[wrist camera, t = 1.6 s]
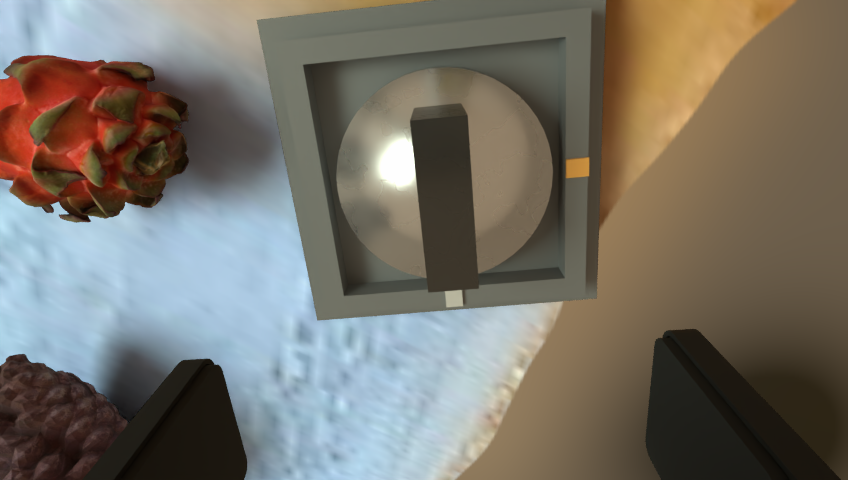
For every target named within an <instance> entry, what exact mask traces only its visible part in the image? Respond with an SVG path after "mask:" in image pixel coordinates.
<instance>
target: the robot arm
mask: <svg viewBox="0 0 848 480" xmlns="http://www.w3.org/2000/svg"><path fill="white" fill-rule="evenodd" d="M646 448H647V451H648V455H649V457H650V459H651V461H652V463H653V464H654V467H655V468H656V471H657V472H658V474H659V476H660V478H661V480H841V479H840V478H839V477H838V476H837V475H836V474H835V473H834V472H833V471H832V470H831V469H830V468H829V467H828V466H827V465H826V463H825V462H824V461H823V460H822V459H821V458H820V457H819V456H818V455H817V454H816V453H815V452H814V451H813V450H812V449H811V448H810V447H809V446H808V445H807V444H806V443H805V441H804V440H802V438H801V437H800V436H799V435H798V434H797V433H796V432H795V431H794V430H793V429H792V428H791V427H790V426H789V425H788V424H787V423H786V422H785V421H784V420H783V419H782V417H781V416H780V415H779V414H778V413H777V412H776V411H775V410H774V409H773V408H772V407H771V406H770V405H769V404H768V403H767V402H766V401H765V400H764V399H763V398H762V397H761V396H760V395H759V394H758V393H757V392H756V391H755V390H754V388H753V387H752V386H751V385H750V384H749V383H748V382H747V381H746V380H745V379H744V378H743V377H742V376H741V375H740V374H739V373H738V372H737V371H736V370H735V369H734V367H733V366H731V364H730V363H729V362H728V361H727V360H726V359H725V358H724V357H723V356H722V355H721V354H720V353H719V352H718V351H717V350H716V349H715V348H714V347H713V345H712V344H711V343H710V342H709V341H708V340H707V339H706V338H705V337H704V336H703V335H702V334H701V333H700V332H699V331H698V330H696V329H685V330H668V331H666V332H665V333H664V335H663V338H658V339H656V341H655V346H654V356H653V367H652V377H651V387H650V399H649V408H648V418H647V429H646ZM246 471H247V459H246V455H245V451H244V447H243V444H242V440H241V436H240V433H239V429H238V426H237V422H236V418H235V415H234V411H233V407H232V404H231V400H230V397H229V393H228V389H227V386H226V382H225V378H224V375H223V371H222V369H221V367H220V366H219V365H214V363H213V361H212V360H210V359H195V360H183V361H181V362H180V363H179V364H178V365H177V366H176V367H175V368H174V370H173V371H172V372H171V373H170V374H169V376H168V377H167V378H166V379H165V380H164V382H163V383H162V384H161V385H160V386H159V388H158V389H157V390H156V391H155V392H154V394H153V395H152V396H151V397H150V398H149V400H148V401H147V402H146V403H145V405H144V406H143V407H142V408H141V409H140V411H139V412H138V413H137V414H136V415H135V417H134V418H133V419H132V420H131V421H130V423H129V424H128V425H127V426H126V427H125V429H124V430H123V431H122V432H121V433H120V435H119V436H118V437H117V438H116V439H115V441H114V442H113V443H112V444H111V446H110V447H109V448H108V449H107V450H106V452H105V453H104V454H103V455H102V456H101V458H100V459H99V460H98V461H97V462H96V464H95V465H94V466H93V467H92V468H91V470H90V471H89V472H88V473H87V474H86V476H85V477H84V478H83V479H82V480H244V478H245V475H246Z"/></svg>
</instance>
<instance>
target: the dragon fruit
mask: <svg viewBox="0 0 848 480" xmlns="http://www.w3.org/2000/svg"><path fill="white" fill-rule="evenodd" d="M4 73H5V74H7V75H8V76H10V77H9V78H8V79H0V179H5V180H12V181H13V185H12V186H11V188H10V189H9V191H10V192H11V193H12V194H14V195H15V196H16V197H18V198H19V199H20V200H21V201H22V202H24V203H25V204H26V205H30V206H34V207H42V208H43V209H44V211H45V212H46V213H53V212H54V209H53V207H52V206H51V205H50V204H53V203H56V202H59V203H60V205H61V207H62V208H63V209H64V210H65V211H67V212H68V213H69V214H68V215H59V216H60V218H61V219H64V220H67V221H72V222H91V221H90V219H89V217H88V215H89V216H96V217H100V218H109V217H114V216H117V215H119V213H120V211H121V210H123V208H124V206H125V202H127V203H130V204H134V205H140V206H142V207H146V208H151V207H153V206H154V205H156V204H157V203H158V202H159V201H160V200H161V198H162V197H163V194H162V193H161V192H162V190H163V189H164V187H165V185H166V181H165V179H168V178H170V177H172V176H174V175H176V174H180V173H182V172H183V171H184V170H185V168H186V166H187V165H188V163H189V159H188V157H187V155H186V153H185V152H186V151H187V142H186V139H185V137H184V135H183V134H182V133H181V132H179V131H177V130H173V129H174V128H175V127H176V126H178V127H179V128H180V129H181V127H180V126H181V122H183V121H188V116H189V114H188V110H187V103H185V102H183V101H181V100H179V99H178V98H176V97H174V96H172V95H170V94H167V93H165V92H160V91H158V92H150V91H149V90H148V88H147V81H149V82H152V81H155V76H154V72H153V69H152V68H151V67H149V66H147V65H143V64H142V63H140V62H118V61H113V62H109V63H106V62H105V61H104V60H99V61H94V62H86V61H77V60H72V59H67V58H61V57H56V56H49V55H37V56H22V57H20V58H18V59H15V60H13V61H12V62H11V65H10V66H8V67H7V68H6V69H5V70H4Z"/></svg>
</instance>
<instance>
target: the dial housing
mask: <svg viewBox="0 0 848 480" xmlns="http://www.w3.org/2000/svg"><path fill="white" fill-rule="evenodd" d="M605 19H606V0H433V1H424V2H415V3H406V4H397V5H388V6H379V7H370V8H360V9H352V10H342V11H333V12H324V13H315V14H306V15H297V16H288V17H279V18H270V19H261V20H257V24H258V29H259V34H260V39H261V44H262V49H263V54H264V58H265V63H266V68H267V73H268V78H269V83H270V88H271V93H272V98H273V103H274V108H275V113H276V118H277V123H278V128H279V133H280V138H281V142H282V147H283V152H284V157H285V162H286V167H287V172H288V177H289V182H290V187H291V192H292V197H293V202H294V207H295V212H296V217H297V222H298V226H299V231H300V236H301V241H302V246H303V251H304V256H305V261H306V266H307V271H308V276H309V281H310V286H311V291H312V296H313V301H314V305H315V310H316V315H317V320H329V319H342V318H354V317H367V316H380V315H392V314H405V313H418V312H430V311H443V310H456V309H469V308H481V307H494V306H507V305H519V304H532V303H545V302H557V301H570V300H583V299H596V298H597V270H598V238H599V208H600V177H601V145H602V113H603V82H604V50H605ZM447 66H449V67H458V68H465V69H469V70H473V71H477V72H479V73H482V74H484V75H487V76H489V77H491V78H494V79H495V80H497V81H499V82H501V83H502V84H504V85H506V86H507V87H509V88H510V89H511V90H512V91H514V92H515V93H516V94H518V95H519V96H520V97H521V98H522V99H523V100H524V101H525V103H526V104H527V105H528V106H529V107H530V108H531V110H532V111H533V112H534V114H535V115H536V117H537V118H538V120H539V122H540V124H541V126H542V128H543V129H544V132H545V135H546V137H547V140H548V143H549V147H550V152H551V156H552V167H553V177H552V188H551V193H550V198H549V202H548V205H547V207H546V210H545V213H544V215H543V217H542V219H541V221H540V223H539V225H538V227H537V228H536V230H535V231H534V233H533V234H532V236H531V237H530V238H529V239H528V240H527V241H526V243H525V244H524V245H523V246H522V247H521V248H520V249H519V250H518V251H517V252H515V253H514V254H513V255H512V256H511V257H509V258H508V259H506V260H505V261H504V262H502V263H500V264H499V265H497V266H495V267H493V268H491V269H489V270H486V271H484V272H481V273H479V274H478V281H479V289H468V290H456V291H443V292H431V293H428V286H427V278H424V277H419V276H415V275H411V274H409V273H406V272H403V271H400V270H398V269H396V268H394V267H392V266H390V265H388V264H387V263H385V262H384V261H382V260H381V259H379V258H378V257H377V256H376V255H374V254H373V253H372V252H371V251H370V250H368V248H367V247H366V246H365V245H364V244H363V243H362V242H361V241H360V240H359V238H358V237H357V236H356V234H355V233H354V231H353V230H352V228H351V227H350V225H349V223H348V221H347V219H346V217H345V214H344V212H343V209H342V207H341V203H340V199H339V195H338V189H337V179H336V175H337V160H338V155H339V149H340V146H341V143H342V140H343V137H344V135H345V132H346V130H347V128H348V126H349V124H350V122H351V121H352V119H353V118H354V116H355V115H356V113H357V111H358V110H359V109H360V108H361V107H362V106H363V105H364V103H365V102H366V101H367V100H368V99H369V98H370V97H371V96H373V95H374V94H375V93H376V92H377V91H378V90H380V89H381V88H382V87H384V86H385V85H387V84H388V83H390V82H391V81H393V80H395V79H397V78H399V77H401V76H403V75H405V74H407V73H411V72H414V71H417V70H420V69H425V68H431V67H447Z"/></svg>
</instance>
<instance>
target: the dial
mask: <svg viewBox="0 0 848 480" xmlns="http://www.w3.org/2000/svg"><path fill="white" fill-rule="evenodd" d="M552 177H553V167H552V156H551V152H550V147H549V143H548V140H547V137H546V135H545V132H544V129H543V128H542V126H541V124H540V122H539V120H538V118H537V117H536V115H535V114H534V112H533V111H532V110H531V108H530V107H529V106H528V105H527V104H526V103H525V101H524V100H523V99H522V98H521V97H520V96H519V95H518V94H516V93H515V92H514V91H512V90H511V89H510V88H509V87H507V86H506V85H504V84H502V83H501V82H499V81H497V80H495V79H494V78H491V77H489V76H487V75H484V74H482V73H479V72H477V71H473V70H469V69H465V68H458V67H449V66H447V67H431V68H425V69H420V70H417V71H414V72H411V73H407V74H405V75H403V76H401V77H399V78H397V79H395V80H393V81H391V82H390V83H388V84H387V85H385V86H384V87H382V88H381V89H380V90H378V91H377V92H376V93H375V94H374V95H373V96H371V97H370V98H369V99H368V100H367V101H366V102H365V103H364V105H363V106H362V107H361V108H360V109H359V110H358V111H357V113H356V115H355V116H354V118H353V119H352V121H351V122H350V124H349V126H348V128H347V130H346V132H345V135H344V137H343V140H342V143H341V146H340V149H339V155H338V160H337V175H336V179H337V189H338V195H339V199H340V203H341V207H342V209H343V212H344V214H345V217H346V219H347V221H348V223H349V225H350V227H351V228H352V230H353V231H354V233H355V234H356V236H357V237H358V238H359V240H360V241H361V242H362V243H363V244H364V245H365V246H366V247H367V248H368V250H370V251H371V252H372V253H373V254H374V255H376V256H377V257H378V258H379V259H381V260H382V261H384V262H385V263H387V264H388V265H390V266H392V267H394V268H396V269H398V270H400V271H403V272H406V273H409V274H411V275H415V276H419V277H424V278H427V286H428V293H431V292H443V291H456V290H468V289H479V281H478V274H479V273H481V272H484V271H486V270H489V269H491V268H493V267H495V266H497V265H499V264H500V263H502V262H504V261H505V260H506V259H508V258H509V257H511V256H512V255H513V254H514V253H515V252H517V251H518V250H519V249H520V248H521V247H522V246H523V245H524V244H525V243H526V241H527V240H528V239H529V238H530V237H531V236H532V234H533V233H534V231H535V230H536V228H537V227H538V225H539V223H540V221H541V219H542V217H543V215H544V213H545V210H546V207H547V205H548V202H549V198H550V193H551V188H552Z"/></svg>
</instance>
